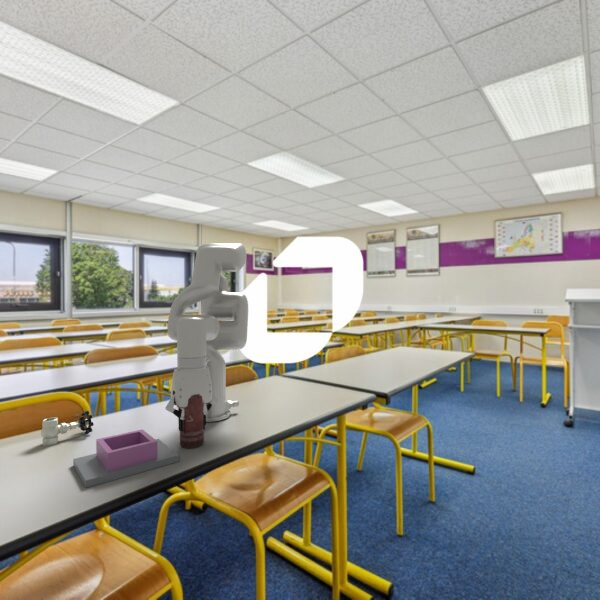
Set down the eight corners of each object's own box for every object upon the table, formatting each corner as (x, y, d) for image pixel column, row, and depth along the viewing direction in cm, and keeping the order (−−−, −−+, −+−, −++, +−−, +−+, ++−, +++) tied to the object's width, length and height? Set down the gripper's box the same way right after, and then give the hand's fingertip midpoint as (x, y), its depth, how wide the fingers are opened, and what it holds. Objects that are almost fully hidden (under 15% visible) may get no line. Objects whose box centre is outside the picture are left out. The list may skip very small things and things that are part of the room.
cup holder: (158, 444, 104) (158, 423, 104) (179, 461, 93) (178, 438, 93) (73, 465, 91) (73, 442, 91) (85, 487, 80) (85, 461, 80)
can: (203, 448, 101) (203, 394, 101) (178, 449, 100) (178, 395, 100) (205, 439, 107) (205, 389, 107) (181, 441, 106) (181, 390, 106)
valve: (46, 448, 101) (93, 435, 111) (46, 423, 101) (93, 412, 111) (37, 443, 105) (83, 430, 115) (36, 418, 105) (83, 408, 115)
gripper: (214, 358, 112) (214, 420, 112) (155, 364, 101) (155, 434, 101) (226, 361, 106) (227, 427, 106) (166, 368, 95) (166, 442, 95)
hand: (192, 430), depth 104 cm, fingers open, 4 cm apart
